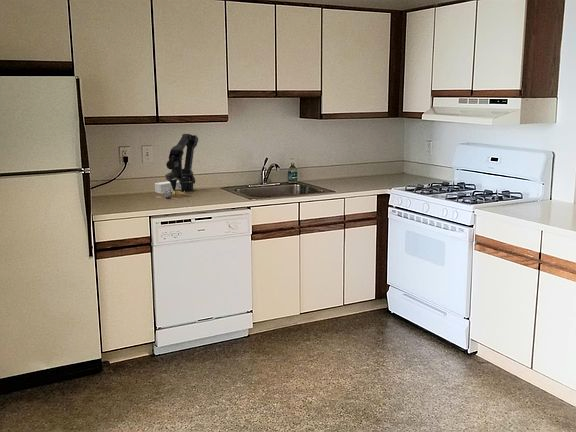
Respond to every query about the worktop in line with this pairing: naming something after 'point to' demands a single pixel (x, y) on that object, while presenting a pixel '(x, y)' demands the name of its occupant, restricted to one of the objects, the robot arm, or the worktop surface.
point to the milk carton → (165, 187)
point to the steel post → (168, 194)
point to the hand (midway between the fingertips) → (178, 191)
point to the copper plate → (175, 196)
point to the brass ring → (177, 192)
